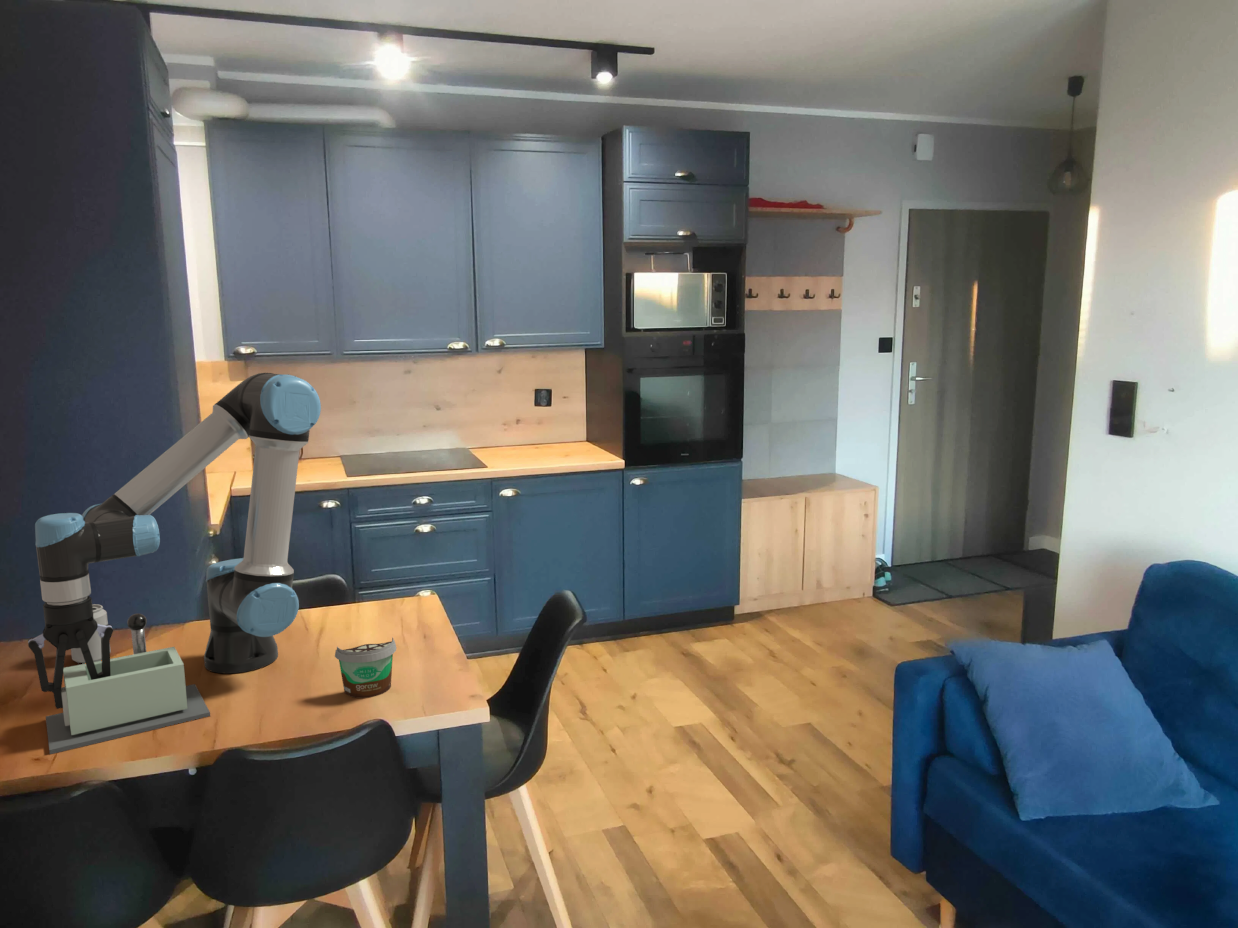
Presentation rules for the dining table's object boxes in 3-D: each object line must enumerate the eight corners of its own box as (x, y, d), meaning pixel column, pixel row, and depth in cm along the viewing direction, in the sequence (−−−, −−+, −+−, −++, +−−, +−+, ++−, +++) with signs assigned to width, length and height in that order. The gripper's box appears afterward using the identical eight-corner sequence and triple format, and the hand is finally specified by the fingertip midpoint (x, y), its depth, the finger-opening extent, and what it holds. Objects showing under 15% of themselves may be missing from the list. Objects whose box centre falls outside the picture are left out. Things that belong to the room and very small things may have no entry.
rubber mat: (195, 687, 181) (195, 683, 181) (210, 715, 168) (210, 712, 168) (46, 720, 166) (45, 716, 166) (49, 754, 153) (49, 749, 153)
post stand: (154, 674, 188) (148, 608, 185) (157, 682, 184) (151, 614, 181) (127, 679, 185) (121, 612, 182) (130, 687, 181) (124, 619, 178)
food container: (342, 704, 173) (339, 657, 171) (336, 693, 178) (334, 646, 177) (404, 692, 178) (402, 646, 177) (397, 681, 184) (395, 636, 182)
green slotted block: (178, 688, 177) (174, 646, 175) (187, 708, 168) (183, 664, 166) (67, 712, 166) (62, 667, 164) (71, 735, 157) (66, 687, 156)
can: (118, 653, 200) (113, 602, 198) (96, 665, 192) (90, 613, 190) (87, 651, 200) (82, 601, 198) (64, 664, 193) (58, 612, 191)
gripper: (117, 585, 166) (128, 701, 170) (11, 601, 157) (26, 723, 161) (121, 595, 160) (133, 715, 164) (12, 613, 151) (27, 739, 155)
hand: (80, 719), depth 162 cm, fingers closed on green slotted block, 3 cm apart
